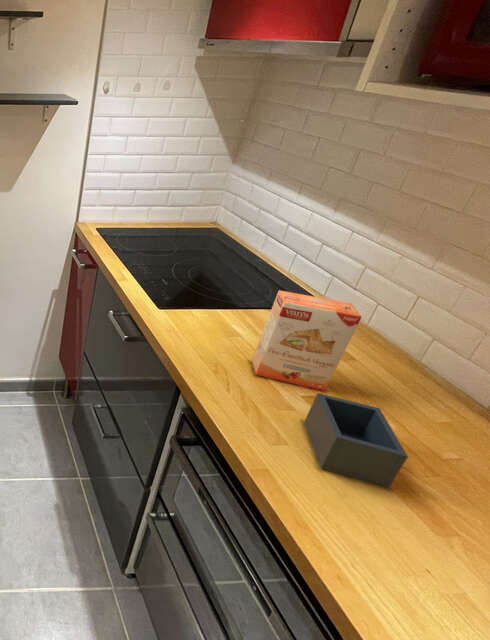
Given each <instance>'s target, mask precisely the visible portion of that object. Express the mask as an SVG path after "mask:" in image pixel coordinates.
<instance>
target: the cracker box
mask: <svg viewBox="0 0 490 640" xmlns="http://www.w3.org/2000/svg"><path fill="white" fill-rule="evenodd" d="M361 320H362V315H361V314H360V313H359V311H358V310H357V309H356V308H355V306H354V305H353V303H352V302H347V301H341V300H335V299H329V298H324V297H319V296H313V295H308V294H303V293H297V292H291V291H285V290H278V292H277V294H276V297H275V299H274V301H273V303H272V307H271V309H270V311H269V315H268V317H267V321H266V323H265V325H264V327H263V330H262V333H261V336H260V338H259V341H258V343H257V346H256V349H255V351H254V354H253V356H252V359H251V364H252V366H253V369H254V373H255V376H258V377H259V376H260V377H264V378H268V379H273V380H276V381H281V382H284V383H289V384H293V385H297V386H302V387H306V388H310V389H315V390H317V391H318V390H319V391H322V392H325V391H326V390H327V388H328V387H329V384H330V382H331V380H332V378H333V377H334V374H335V371H336V369H337V367H338V366H339V363H340V362H341V360H342V358H343V356H344V354H345V351H346V350H347V348H348V345H349V344H350V341H351V340H352V338H353V335H354V333H355V331H356V329H357V327H358V325H359V323H360V321H361Z"/></svg>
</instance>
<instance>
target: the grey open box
mask: <svg viewBox="0 0 490 640" xmlns="http://www.w3.org/2000/svg"><path fill="white" fill-rule="evenodd" d="M303 423H304V426H305V430H306V431H307V434H308V437H309V440H310V442H311V445H312V448H313V450H314V453H315V456H316V459H317V461H318V464H319V467H320V469H322V470H324V471H329V472H332V473H335V474H339V475H342V476H346V477H348V478H351V479H352V478H353V479H356V480H359V481H363V482H365V483H369V484H372V485H376V486H379V487H382V488H386V489H389V488H390V487H391V485H392V483H393V482H394V480H395V478H396V477H397V476H398V474H399V472H400V470H401V469H402V467H403V466H404V464H405V463H406V461H407V460H408V458H409V457H408V454H407V452H406V451H405V449H404V448H403V445H402V444H401V442H400V441H399V439H398V437H397V436H396V433H395V432H394V431H393V429H392V426H391V425H390V423H389V422H388V420H387V418H386V417H385V415H384V413H383V412H382V410H381V408H380V407H377V406H372V405H368V404H364V403H361V402H357V401H352V400H349V399H344V398H340V397H336V396H332V395H328V394H323V393H320V392H317V394H316V396H315V397H314V400H313V402H312V404H311V407H310V408H309V411H308V412H307V415H306V417H305V419H304V421H303Z"/></svg>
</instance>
